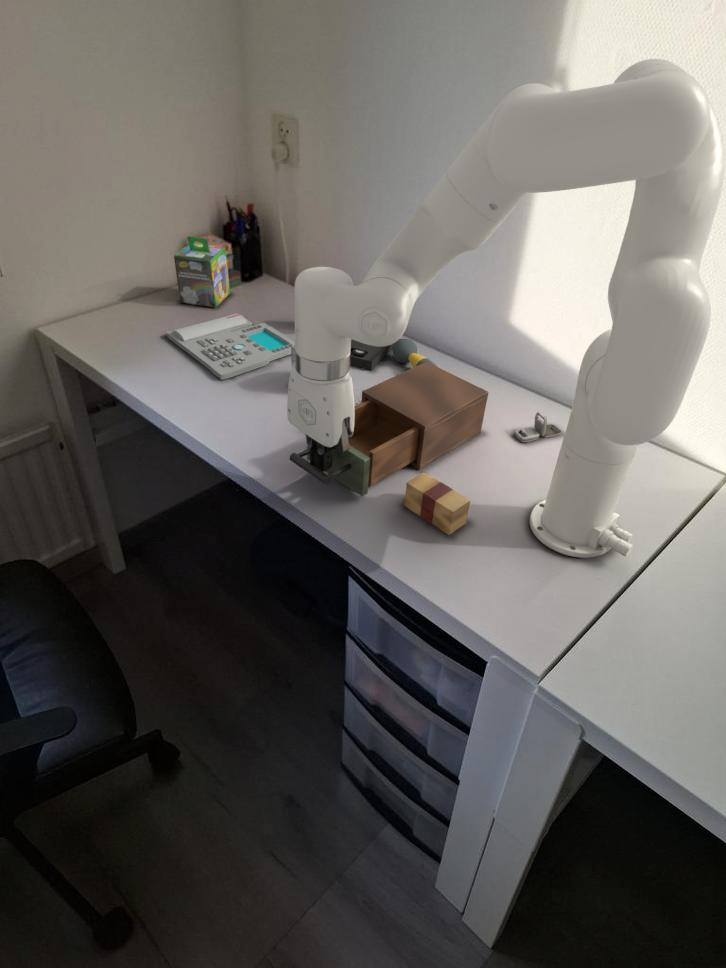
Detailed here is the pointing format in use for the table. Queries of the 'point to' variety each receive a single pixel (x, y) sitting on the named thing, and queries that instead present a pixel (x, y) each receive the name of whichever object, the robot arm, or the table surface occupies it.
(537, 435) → the strap clip
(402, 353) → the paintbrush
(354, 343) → the vhs tape
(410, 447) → the drawer
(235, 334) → the office telephone
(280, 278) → the table surface
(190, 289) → the chalk box
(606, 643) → the table surface
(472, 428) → the cabinet
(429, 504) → the banded wooden block
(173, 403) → the table surface
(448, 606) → the table surface
